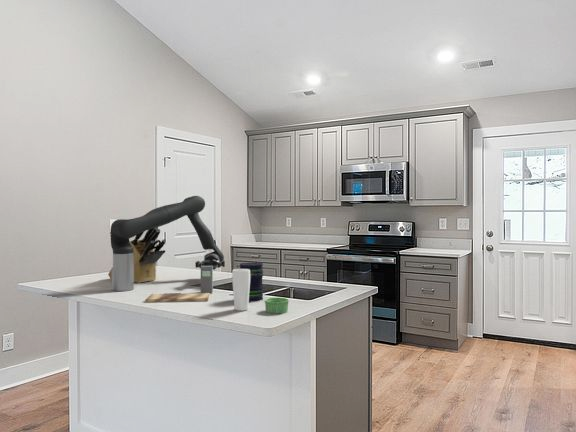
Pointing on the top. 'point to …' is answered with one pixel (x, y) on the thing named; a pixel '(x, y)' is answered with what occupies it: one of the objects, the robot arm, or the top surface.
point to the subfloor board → (178, 297)
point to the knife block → (146, 255)
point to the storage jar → (255, 280)
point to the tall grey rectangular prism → (207, 279)
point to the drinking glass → (241, 288)
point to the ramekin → (276, 305)
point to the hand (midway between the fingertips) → (209, 265)
